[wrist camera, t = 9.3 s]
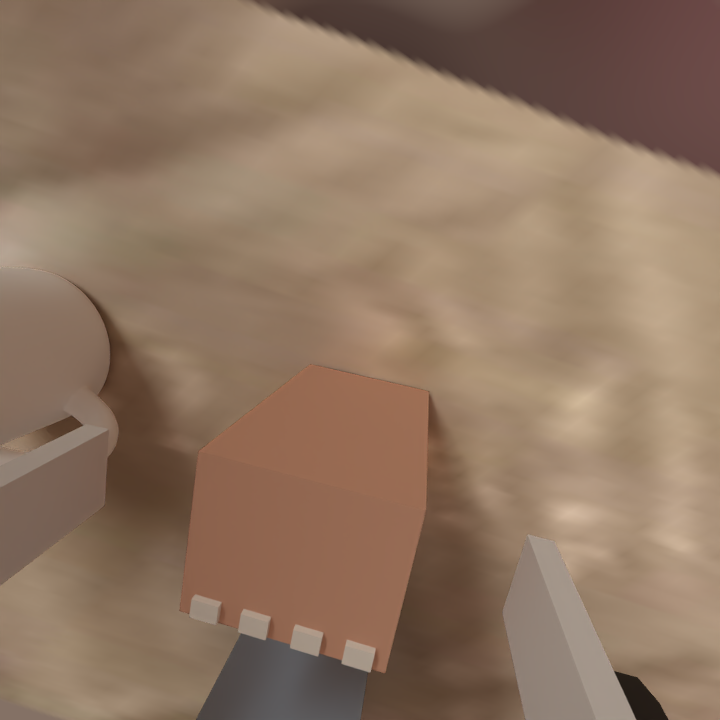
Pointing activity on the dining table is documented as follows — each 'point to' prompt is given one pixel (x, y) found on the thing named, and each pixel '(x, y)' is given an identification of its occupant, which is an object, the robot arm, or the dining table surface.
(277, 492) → the stub
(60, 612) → the dining table surface
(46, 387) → the mug
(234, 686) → the toy oven block
